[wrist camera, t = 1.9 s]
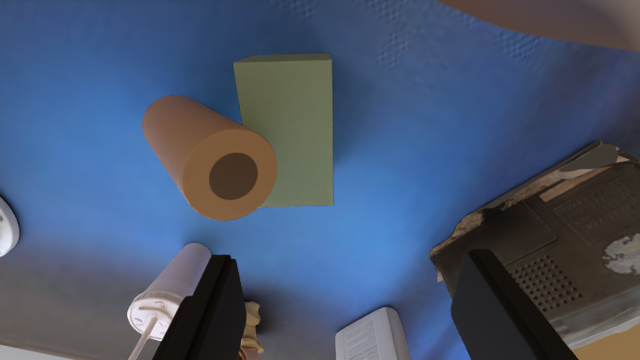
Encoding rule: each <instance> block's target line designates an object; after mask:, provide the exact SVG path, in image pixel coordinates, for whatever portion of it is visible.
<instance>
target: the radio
mask: <svg viewBox="0 0 640 360" xmlns="http://www.w3.org/2000/svg"><path fill="white" fill-rule="evenodd" d="M636 162H638V160H637V159H636V158H635V157H633V156H631V155H629V154H627V153H625V152H623V151H622V150H621V149H619V148H618V147H616V146H614V145H612V144H605V145H603V143H602V142H601V141H600V140H599V141H597V142H595V143H594V144H592V145H590V146H588V147H587V148H585V149H583V150H581V151H580V152H578V153H576V154H574V155H573V156H571V157H569V158H567V159H566V160H564V161H562V162H560V163H559V164H557V165H555V166H553V167H552V168H550V169H548V170H546V171H545V172H543V173H541V174H539V175H538V176H536V177H534V178H532V179H531V180H529V181H527V182H525V183H524V184H522V185H520V186H518V187H517V188H515V189H513V190H511V191H510V192H508V193H506V194H504V195H503V196H501V197H499V198H497V199H496V200H494V201H492V202H490V203H489V204H487V205H485V206H483V207H482V208H480V209H478V210H476V211H475V212H473V213H471V214H469V215H468V216H466V217H464V218H463V219H462V222H460V223H459V224H457V225H456V229H455V231H454V232H453V234H452V236H451V237H449V238H448V239H447V240H446V241H445V242H443V243H441V244H440V245H438V246H436V247H435V248H433V249H432V250H431V251H430V259H431V261H432V262H433V264H434V265H435V270H436V272H437V273H438V278H437V280H438V281H437V282H440V281H442V280H444V281H445V283H446V285H447V288H448V291H449V293H450V296H451V298H452V300H453V296H454V292H455V288H456V284H457V280H458V276H459V272H460V267H461V263H462V259H463V256H464V254H465V253H468V251H469V250H470V249H483V248H488V249H490V250H491V251H492V252H493V253H494V255H495V256H496V257H497V258H498V260H499V261H500V262H501V263H502V265H503V266H504V267H505V269H506V270H507V271H508V272H509V274H510V275H511V276H512V278H513V279H514V280H515V281H516V283H517V284H518V285H519V286H520V288H521V289H522V290H523V291H524V292H525V293H526V294H527V295H528V296H529V297H530V299H531V300H532V301H533V303H534V304H535V305H536V306H537V308H538V309H539V310H540V311H541V313H542V314H543V315H544V317H545V318H546V319H547V320H548V322H549V323H550V324H551V325H552V327H553V328H554V329H555V330H556V332H557V333H558V334H559V336H560V337H561V338H562V339H563V341H564V342H565V343H566V344H567V346H568V347H569V348H570V350H572V349H575V348H579V347H582V346H585V345H587V344H590V343H592V342H594V341H597V340H599V339H601V338H604V337H606V336H609V335H611V334H613V333H616V332H624V331H627V330H629V329H630V328H631V327H633V326H636V325H638V324H640V164H638V163H636Z"/></svg>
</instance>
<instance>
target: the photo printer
mask: <svg viewBox="0 0 640 360" xmlns="http://www.w3.org/2000/svg"><path fill="white" fill-rule="evenodd" d="M335 340H336V360H411V358H410V354H409V351H408V347H407V343H406V339H405V336H404V332H403V328H402V325H401V322H400V319H399V316H398V313H397V312H396V311H395V310H394V309H393V308H390V307H383V308H380V309H378V310H376V311H374V312H372V313H370V314H369V315H367V316H365V317H363V318H361V319H359V320H358V321H356V322H354V323H352V324H351V325H349V326H347V327H345V328H344V329H342V330H340V331H339V332H338V333H337V334H336V338H335Z"/></svg>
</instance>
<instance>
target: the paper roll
mask: <svg viewBox="0 0 640 360" xmlns="http://www.w3.org/2000/svg"><path fill="white" fill-rule="evenodd" d="M142 129H143V134H144V136H145V139H146V140H147V142H148V144H149V145H150V147H151V148H152V150H153V151H154V153H155V154H156V155H157V157H158V158H159V160H160V161H161V163H162V164H163V166H164V167H165V169H166V170H167V172H168V173H169V175H170V176H171V178H172V179H173V181H174V182H175V184H176V185H177V187H178V188H179V190H180V191H181V193H182V194H183V196H184V197H185V199H186V200H187V202H188V203H189V204H190V206H191V207H192V208H193V209H194V210H195V211H196V212H198V213H199V214H201V215H202V216H204V217H206V218H209V219H213V220H220V221H227V220H234V219H238V218H241V217H244V216H246V215H248V214H250V213H252V212H253V211H254V210H256V209H257V208H258V207H259V206H261V205H262V204H263V203H264V201H265V200H266V199H267V198H268V196H269V195H270V193H271V191H272V189H273V187H274V185H275V182H276V177H277V160H276V156H275V153H274V151H273V149H272V147H271V146H270V144H269V143H268V142H267V141H266V140H265V139H264V138H263V137H262V136H261V135H259V134H257V133H256V132H254V131H252V130H250V129H248V128H246V127H244V126H242V125H240V124H239V123H237V122H235V121H233V120H231V119H229V118H227V117H225V116H224V115H222V114H220V113H218V112H216V111H214V110H212V109H210V108H208V107H207V106H205V105H203V104H201V103H199V102H197V101H195V100H193V99H191V98H189V97H186V96H182V95H169V96H165V97H162V98H160V99H158V100H156V101H155V102H153V103H152V104H151V105H150V106H149V107H148V109H147V110H146V112H145V114H144V117H143V122H142Z"/></svg>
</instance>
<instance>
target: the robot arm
mask: <svg viewBox="0 0 640 360" xmlns="http://www.w3.org/2000/svg"><path fill="white" fill-rule="evenodd" d="M18 238H19V226H18V223H17V219H16V217H15V215H14V214H13V212H12V210H11V209H10V207H9V206H8V205H7V203H6V202H5V201H4V200H3V199H2V198H1V197H0V257H1V256H3V255H5V254H6V253H8V252H9V251H10V250H11V249H13V248H14V247H15V245H16V244H17V242H18ZM451 316H452V319H453V321H454V323H455V325H456V328H457V330H458V332H459V334H460V336H461V338H462V341H463V343H464V345H465V347H466V349H467V351H468V354H469V356H470V358H471V360H578V358H577V357H576V356H575V355H574V353H573V352H572V351H571V350H570V348H569V347H568V346H567V344H566V343H565V342H564V341H563V339H562V338H561V337H560V336H559V334H558V333H557V332H556V330H555V329H554V328H553V327H552V325H551V324H550V323H549V322H548V320H547V319H546V318H545V317H544V315H543V314H542V313H541V311H540V310H539V309H538V308H537V306H536V305H535V304H534V303H533V301H532V300H531V299H530V297H529V296H528V295H527V294H526V293H525V292H524V291H523V290H522V289H521V288H520V286H519V285H518V284H517V283H516V281H515V280H514V279H513V278H512V276H511V275H510V274H509V272H508V271H507V270H506V269H505V267H504V266H503V265H502V263H501V262H500V261H499V260H498V258H497V257H496V256H495V255H494V253H493V252H492V251H491V250H490V249H488V248H483V249H470V250H469V251H468V253H465V254H464V256H463V259H462V263H461V267H460V272H459V276H458V280H457V284H456V288H455V292H454V296H453V301H452V305H451ZM246 320H247V312H246V307H245V302H244V297H243V292H242V287H241V282H240V277H239V272H238V267H237V262H236V260H235V259H231V256H230V255H212V256H211V258H210V259H209V262H208V264H207V266H206V268H205V270H204V272H203V274H202V276H201V278H200V280H199V283H198V285H197V287H196V289H195V291H194V293H193V295H192V296H186V297H185V298H184V299H183V300H182V302H181V303H180V305H179V307H178V309H177V311H176V313H175V315H174V317H173V319H172V321H171V323H170V325H169V327H168V329H167V331H166V333H165V335H164V337H163V339H162V341H161V343H160V345H159V347H158V349H157V351H156V353H155V355H154V357H153V359H152V360H237V358H238V354H239V350H240V346H241V342H242V338H243V333H244V329H245V325H246Z"/></svg>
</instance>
